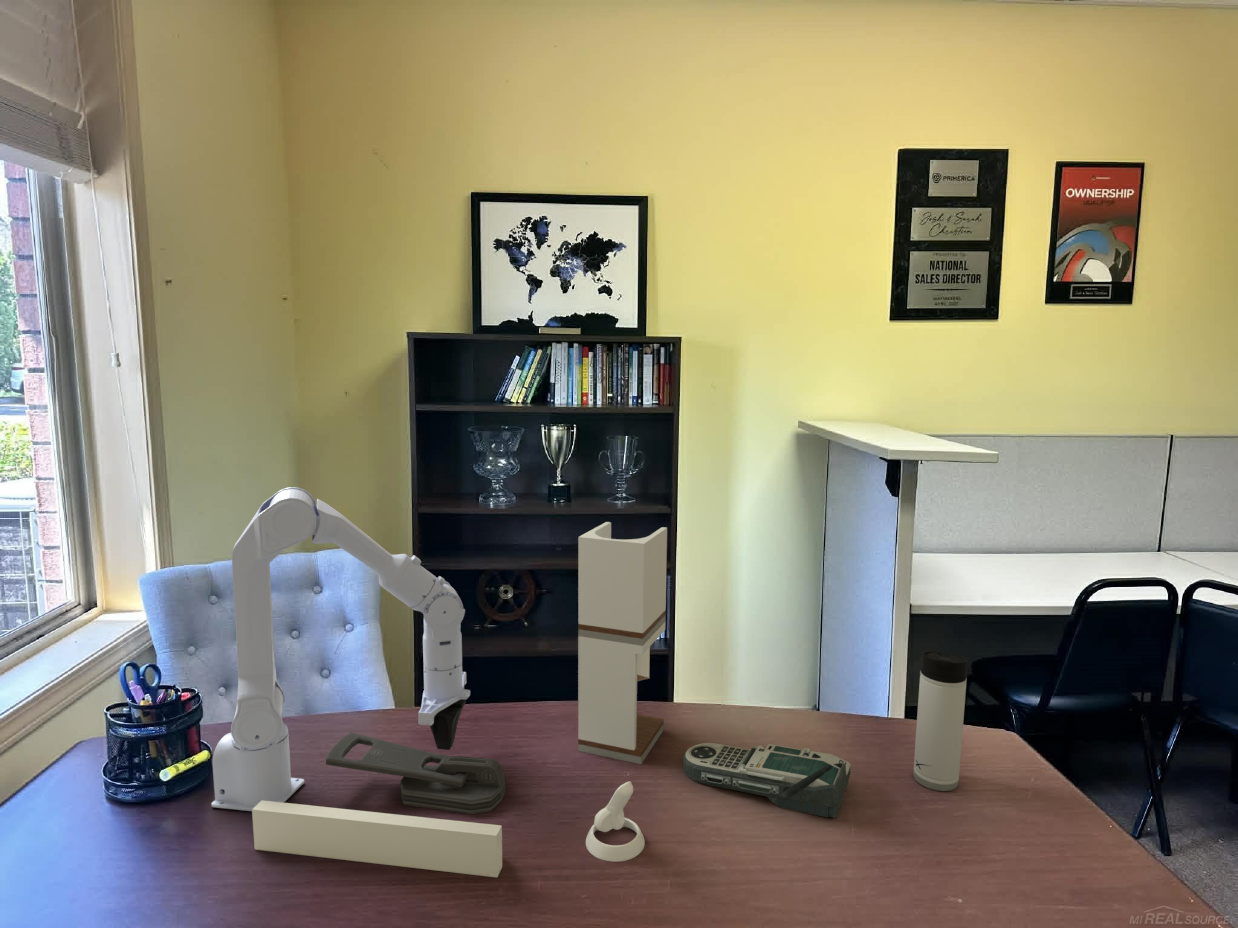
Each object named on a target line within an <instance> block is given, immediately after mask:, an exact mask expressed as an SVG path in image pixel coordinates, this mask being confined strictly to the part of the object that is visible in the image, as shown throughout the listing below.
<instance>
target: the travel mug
mask: <svg viewBox="0 0 1238 928" xmlns="http://www.w3.org/2000/svg"><path fill="white" fill-rule="evenodd" d="M920 662H921V666H920V671H919V685H918V686H919V688H918V698H917V699H918V701H917V702H918V703H917V712H916V713H917V716H916V729H915V744H914V745H915V746H914V759H913V761H914V762H913V772H912V773H913V778H914V780H915V781H916V782H917V783H918V784H920V785H921V786H923V787H925V788H927V789H929V790H933V791H937V792H938V791H939V792H951V791H953V790H955V789H957V788H958V787H959V783H960V782H959V781H960V769H961V768H960V767H961V756H962V755H961V754H962V743H963V729H964V719H965V718H964V717H965V704H966V693H967V691H966V690H967V680H968V679H967V678H968V677H967V672H968V659H967V658H966V657H965V656H963V655H960V654H957V653H952V652H951V653H944V652H938V651H937V650H926V651H923V652H922V654H921V661H920Z"/></svg>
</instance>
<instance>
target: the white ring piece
mask: <svg viewBox="0 0 1238 928" xmlns="http://www.w3.org/2000/svg"><path fill="white" fill-rule="evenodd" d="M633 793H634V786H633V784H632V782H631V781H626V782H625V783H623V784H621V785H619V786H618V788H617V789H616V790H615V792H614V793H613V795H612V797H611V798H610V800H609V802H608V803H607V805H606V806H604V808H602V809H599V811H598V812H597V813H596V814H595V816H594V820H593V822H594V823H593V825H592V826H591V828H590V829H589V830H588V833H587V835H586V837H585V838H586V839H585V846H586V849H587V851H588V852H589V853H590V854H591V855H592V856H593V857H595V858H597V859H599V860H603V861H607V862H615V863H616V862H626V861H628V860H632V859H633V858H635V857H637V856H638V855H640V854H641V853H642V851H643V850H644V848H645V842H646V841H645V838H644V835H643V833H642V831H641V829H640V827H639V825H638V824H637V823H636V822H635V821H633V820H631V819H630V818H628V817H625V813H624V808H625V806H626V805H627V803H628V802H629V800H630V798H632V797H631V796H632V795H633ZM622 828H627V829H629V830H632V831H633V832H635V833H636V835H635V837H634V838H633V839H632V840H631V841H629V842H627V843H624V844H619V845H616V844H615V845H613V844H612V845H611V844H606V843H603V842H602V841H600V840H599V839H598V838H597V837H596V836H595V832H596V831H599V832H603V833H607V832H609V831H612V829H613V830H617V831H618V830H621V829H622Z"/></svg>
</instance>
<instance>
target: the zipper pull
mask: <svg viewBox="0 0 1238 928" xmlns="http://www.w3.org/2000/svg"><path fill="white" fill-rule="evenodd" d="M358 744H360V745H363V746H370V748H369V749H368V750H367V752H366V753H365V754H364V755H363V757H362V758H361V759H351V758H345V757H346V756H347V754H348V753H350V751H351V750H352V749H353V748H354V747H355V746H357V745H358ZM428 763H429V764H428ZM430 763H434V764H433V765H432V764H430ZM435 763H436V764H435ZM325 764H326V766H331V767H332V766H333V767H338V768H339V767H340V768H343V769H344V768H345V769H351V770H357V771H365V772H370V773H371V772H372V773H378V774H386V775H389V776H390V775H393V776H398V777H402V778H401V779H400V797H401V800H402V804H403V805H405V806H412V807H418V808H419V807H420V808H424V809H425V808H427V809H432V810H439V811H445V812H446V811H447V812H451V813H460V814H465V815H467V814H468V815H475V814H480V813H488V812H492V811H493V810H494V809H495V808H496V807H497V806H498V805H499V804H501V802H502V801H503V798H504V796H505V794H506V779H505V774H504V772H505V771H504V769H503V767H502V766H501V764H500V762H499V761H498V760H496V759H494V758H486V757H473V756H457V755H456V756H454V755H446V754H445V755H444V754H441V753H435V752H431V751H426V750H422V749H420V748H419V749H418V748H416V747H411V746H406V745H403V744H399V743H394V742H390V741H387V740H382V739H379V738H375V737H371V736H367V735H364V734H359V733H355V732H350V733H348V734H346V735H344V736H343V737H342V738H340V739H339V740H338V741H337V742H336V743H335V744H334V745H333V746H332V747H331V748H330V750H329V751H328V753H327V755H326V759H325Z"/></svg>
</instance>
